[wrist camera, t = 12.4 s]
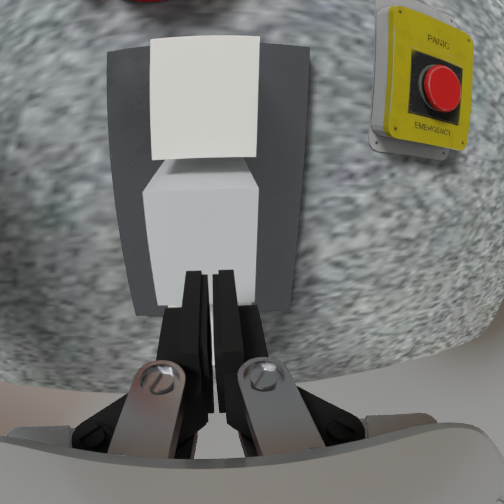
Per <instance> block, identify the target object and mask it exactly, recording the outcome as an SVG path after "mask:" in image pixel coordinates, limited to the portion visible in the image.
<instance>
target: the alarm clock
mask: <svg viewBox="0 0 504 504" xmlns="http://www.w3.org/2000/svg"><path fill="white" fill-rule="evenodd" d="M133 1H140V2H157V1H165V0H133Z"/></svg>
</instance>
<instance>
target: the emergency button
mask: <svg viewBox="0 0 504 504" xmlns="http://www.w3.org/2000/svg"><path fill="white" fill-rule="evenodd" d="M374 4H375V39H374V69H373V87H372V102H371V114H370V125H369V135H368V139H369V145H370V146H371V148H372V149H373V150H375V151H379V152H387V153H395V154H402V155H409V156H415V157H422V158H428V159H434V160H439V161H442V160H445V159H446V158H447V157H448V154H449V150H450V149H452V150H457V151H461V150H463V149H465V147H466V144H467V139H468V131H469V123H470V113H471V102H472V88H473V41H472V39H471V37H470V36H469V35H468V34H466V33H464V32H463V31H461V30H459V29H457V26H456V23H455V21H454V19H453V18H452V17H451V16H449V15H447V14H445V13H443V12H441V11H439V10H437V9H434V8H432V7H430V6H428V5H425V4H423V3H421V2H418V1H416V0H374Z"/></svg>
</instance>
